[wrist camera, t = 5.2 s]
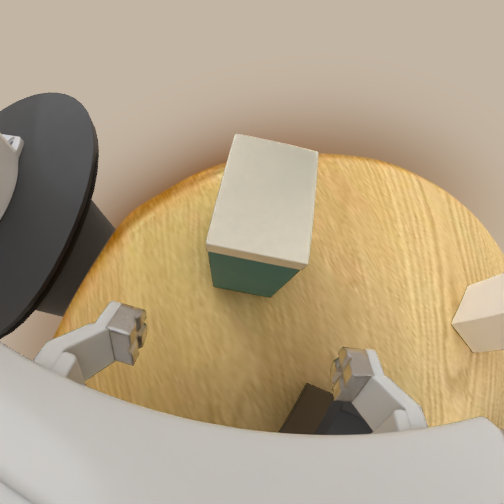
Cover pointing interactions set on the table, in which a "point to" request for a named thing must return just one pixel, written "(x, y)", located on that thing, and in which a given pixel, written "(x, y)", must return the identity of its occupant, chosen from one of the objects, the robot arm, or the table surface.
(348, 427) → the basket
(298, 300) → the table surface
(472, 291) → the milk
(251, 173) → the carton
